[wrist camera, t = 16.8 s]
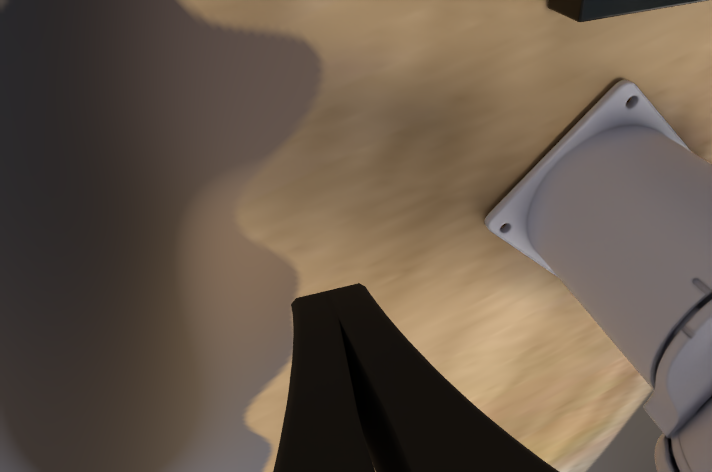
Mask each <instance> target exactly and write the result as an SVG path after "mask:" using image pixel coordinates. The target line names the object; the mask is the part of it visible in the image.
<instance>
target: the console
mask: <svg viewBox="0 0 712 472" xmlns="http://www.w3.org/2000/svg"><path fill="white" fill-rule="evenodd" d="M702 1H708V0H549V1H548V8H549V9H551V10H554V11H556V12H558V13H560V14H562V15H564V16H567V17H569V18H571V19H573V20H575V21H577V22H584V21H590V20H596V19H602V18H608V17H614V16H620V15H626V14H631V13H637V12H643V11H649V10H655V9H661V8H667V7H673V6H679V5H685V4H691V3H696V2H702Z"/></svg>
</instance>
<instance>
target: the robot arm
mask: <svg viewBox="0 0 712 472" xmlns="http://www.w3.org/2000/svg"><path fill="white" fill-rule="evenodd" d="M630 97H632V98H631V100H630V101H629V102H628V103H627V104H626V102H627V100H628V99H629V98H630ZM506 223H507V224H506ZM503 224H506V225H505V226H504V227H502V228H501V226H502V225H503ZM485 225H486V226H487V228H488V229H489V230H490V231H491V232H492V233H494V234H495V235H497V236H498V237H500V238H501V239H503V240H504V241H506V242H507V243H509V244H510V245H512V246H513V247H514V248H516V249H517V250H519V251H520V252H522V253H523V254H525V255H526V256H528V257H529V258H531V259H532V260H534V261H535V262H536V263H538V264H539V265H541V266H542V267H544V268H545V269H547V270H548V271H550V272H551V273H553V274H554V275H556V276H557V277H558V278H559V279H560V280H561V281H562V282H563V283H564V285H565V286H566V287H567V288H568V289H569V291H570V292H571V293H572V294H573V295H574V296H575V298H576V299H577V300H578V301H579V302H580V304H581V305H582V306H583V307H584V308H585V309H586V311H587V312H588V313H589V314H590V315H591V317H592V318H593V319H594V320H595V321H596V322H597V324H598V325H599V326H600V327H601V328H602V330H603V331H604V332H605V333H606V334H607V335H608V337H609V338H610V339H611V340H612V341H613V343H614V344H615V345H616V346H617V347H618V349H619V350H620V351H621V352H622V353H623V354H624V356H625V357H626V358H627V359H628V360H629V362H630V363H631V364H632V365H633V366H634V367H635V369H636V370H637V371H638V372H639V373H640V375H641V376H642V377H643V378H644V379H645V380H646V382H647V383H648V384H649V385H650V386H651V388H652V389H653V390H654V391H653V394H652V395H651V397H650V399H649V400H648V401H647V402H646V404H645V405H644V409H645V410H646V412H647V413H648V414H649V416H650V417H651V418H652V419H653V421H654V422H655V423H656V424H657V426H658V427H659V428H660V429H661V431H662V432H663V434H662V435H661V436H660V437H659V439H658V441H657V444H656V447H655V462H656V467H657V472H712V164H711V163H709V162H708V161H706V160H704V159H703V158H701V157H699V156H698V155H696V154H695V153H693V152H691V150H690V149H689V148H688V147H687V146H686V144H685V143H684V142H683V141H682V140H681V138H680V137H679V136H678V135H677V134H676V132H675V131H674V130H673V129H672V128H671V126H670V125H669V124H668V123H667V122H666V120H665V119H664V118H663V117H662V116H661V114H660V113H659V112H658V111H657V110H656V108H655V107H654V106H653V105H652V104H651V102H650V101H649V100H648V99H647V98H646V96H645V95H644V94H643V93H642V92H641V90H640V89H639V88H638V87H637V86H636V84H634V83H632V82H631V81H629V80H621V81H619V82H617V83H616V84H615V85H614V86H613V87H612V88H611V89H610V90H609V91H608V92H607V93H606V94H605V95H604V96H603V97H602V98H601V99H600V100H599V101H598V102H597V103H596V104H595V105H594V106H593V107H592V108H591V109H590V110H589V111H588V112H587V113H586V114H585V115H584V116H583V118H582V119H581V120H580V121H579V122H578V123H577V124H576V125H575V126H574V127H573V128H572V129H571V130H570V131H569V132H568V133H567V134H566V135H565V136H564V137H563V138H562V139H561V140H560V141H559V142H558V143H557V144H556V145H555V146H554V147H553V148H552V149H551V150H550V151H549V152H548V153H547V154H546V155H545V156H544V157H543V158H542V159H541V160H540V162H539V163H538V164H537V165H536V166H535V167H534V168H533V169H532V170H531V171H530V172H529V173H528V174H527V175H526V176H525V177H524V178H523V179H522V180H521V181H520V182H519V183H518V184H517V185H516V186H515V187H514V188H513V189H512V190H511V191H510V192H509V193H508V194H507V195H506V196H505V197H504V198H503V199H502V200H501V201H500V202H499V203H498V204H497V205H496V207H495V208H494V209H493V210H492V211H491V212H490V213H489V214H488V215H487V216H486V218H485ZM291 306H292V312H293V326H294V338H293V357H292V367H291V376H290V384H289V393H288V400H287V406H286V412H285V417H284V422H283V428H282V433H281V439H280V444H279V449H278V453H277V458H276V462H275V467H274V471H273V472H375V471H376V472H559V471H557V470H556V469H554V468H553V467H552V466H550V465H549V464H547V463H546V462H545V461H543V460H542V459H541V458H539V457H538V456H537V455H535V454H534V453H533V452H531V451H530V450H529V449H527V448H526V447H525V446H523V445H522V444H521V443H520V442H518V441H517V440H516V439H514V438H513V437H512V436H511V435H509V434H508V433H507V432H506V431H504V430H503V429H502V428H501V427H500V426H498V425H497V424H496V423H495V422H493V421H492V420H491V419H490V418H489V417H487V416H486V415H485V414H484V413H483V412H482V411H480V410H479V409H478V408H477V407H476V406H475V405H474V404H472V403H471V402H470V401H469V400H468V399H467V398H466V397H465V396H464V395H462V394H461V393H460V392H459V391H458V390H457V389H456V388H455V387H454V386H453V385H452V384H451V383H450V382H449V381H447V380H446V379H445V378H444V377H443V376H442V375H441V374H440V373H439V372H438V371H437V370H436V369H435V368H434V367H433V366H432V365H431V364H430V363H429V362H428V361H427V360H426V359H425V357H424V356H423V355H422V354H421V353H420V352H419V351H418V350H417V349H416V348H415V347H414V346H413V345H412V344H411V343H410V342H409V341H408V340H407V338H406V337H405V336H404V335H403V334H402V333H401V332H400V331H399V329H398V328H397V327H396V326H395V325H394V324H393V322H392V321H391V320H390V319H389V318H388V316H387V315H386V314H385V313H384V312H383V310H382V309H381V308H380V306H379V305H378V304H377V303H376V301H375V300H374V298H373V297H372V296H371V294H370V293H369V292H368V290H367V289H366V287H365V286H363V285H361V284H360V283H358V284H354V285H350V286H346V287H341V288H337V289H333V290H329V291H325V292H320V293H316V294H312V295H308V296H304V297H299V298H296V299H295V300H294V301H293V303H292V304H291ZM374 468H375V469H374Z"/></svg>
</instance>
